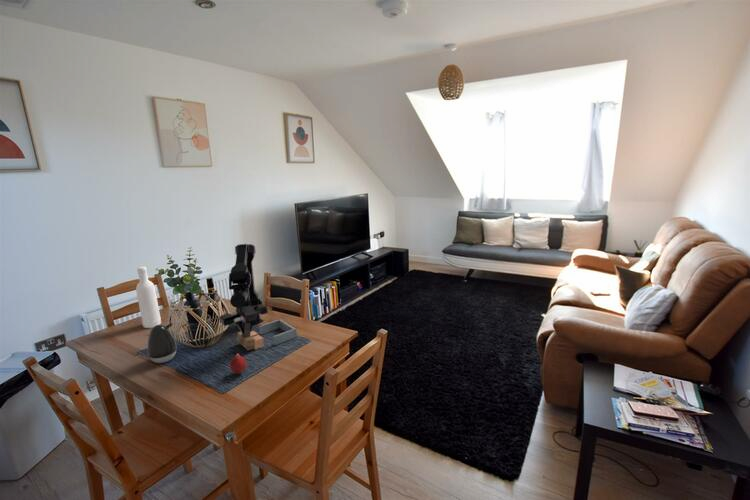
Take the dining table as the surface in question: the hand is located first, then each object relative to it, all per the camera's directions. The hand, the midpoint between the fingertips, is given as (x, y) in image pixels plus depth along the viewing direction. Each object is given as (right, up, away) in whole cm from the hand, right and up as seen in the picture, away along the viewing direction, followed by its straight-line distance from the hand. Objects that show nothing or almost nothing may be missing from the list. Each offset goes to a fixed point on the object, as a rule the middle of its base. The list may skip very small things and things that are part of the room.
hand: (246, 332), depth 152 cm
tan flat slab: (-22, -1, +27) cm, 35 cm away
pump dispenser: (-31, -9, -7) cm, 33 cm away
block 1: (+1, -5, +5) cm, 8 cm away
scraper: (-1, -5, +1) cm, 5 cm away
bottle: (-56, -2, +26) cm, 62 cm away
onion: (+4, -11, -18) cm, 22 cm away
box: (+11, -4, +11) cm, 15 cm away
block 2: (+4, -6, +1) cm, 8 cm away
